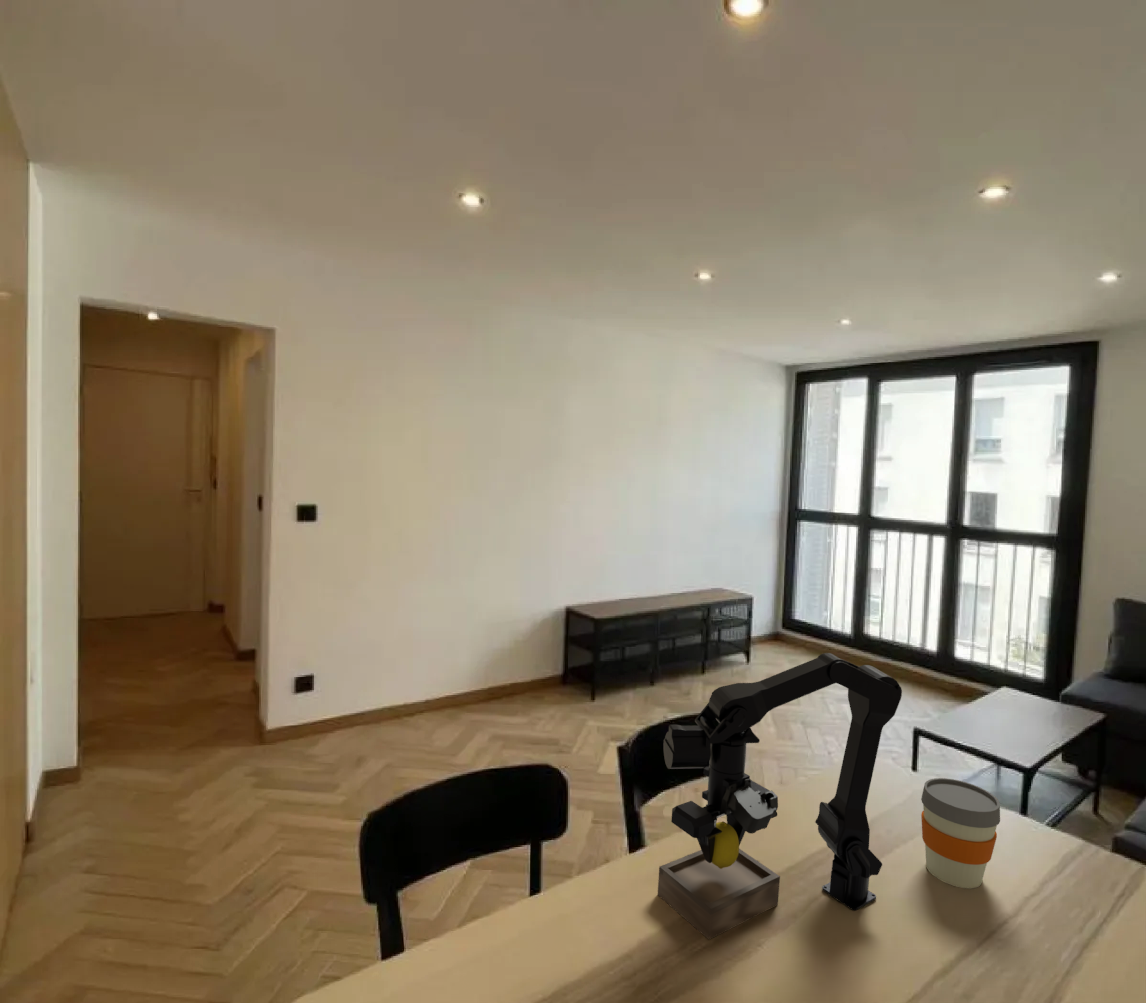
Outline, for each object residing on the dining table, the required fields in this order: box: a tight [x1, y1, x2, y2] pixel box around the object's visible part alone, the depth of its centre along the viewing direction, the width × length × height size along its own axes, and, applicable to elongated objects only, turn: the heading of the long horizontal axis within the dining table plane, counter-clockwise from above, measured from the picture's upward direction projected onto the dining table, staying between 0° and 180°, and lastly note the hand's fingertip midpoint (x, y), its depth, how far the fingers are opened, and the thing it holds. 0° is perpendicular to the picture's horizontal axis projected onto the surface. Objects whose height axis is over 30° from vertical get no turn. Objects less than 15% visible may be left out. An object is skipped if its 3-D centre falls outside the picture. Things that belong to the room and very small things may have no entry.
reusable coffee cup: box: [920, 777, 1001, 889], centre depth 124 cm, size 13×12×15 cm
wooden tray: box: [657, 848, 781, 940], centre depth 114 cm, size 16×12×5 cm
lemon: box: [712, 821, 740, 869], centre depth 113 cm, size 6×6×8 cm
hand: (721, 856), depth 113 cm, fingers closed on lemon, 5 cm apart
